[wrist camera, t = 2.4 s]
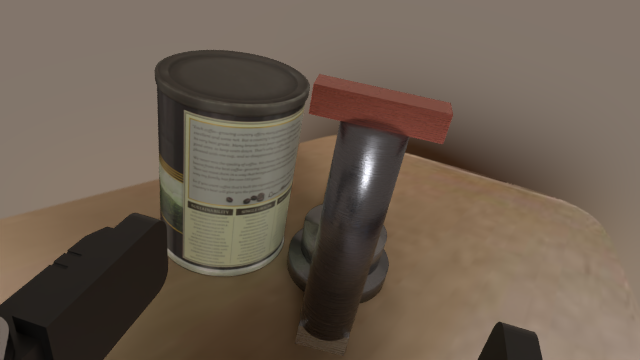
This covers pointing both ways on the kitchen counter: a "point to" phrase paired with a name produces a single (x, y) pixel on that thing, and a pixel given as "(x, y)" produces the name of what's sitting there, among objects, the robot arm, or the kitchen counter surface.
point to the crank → (356, 198)
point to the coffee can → (227, 157)
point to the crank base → (301, 269)
